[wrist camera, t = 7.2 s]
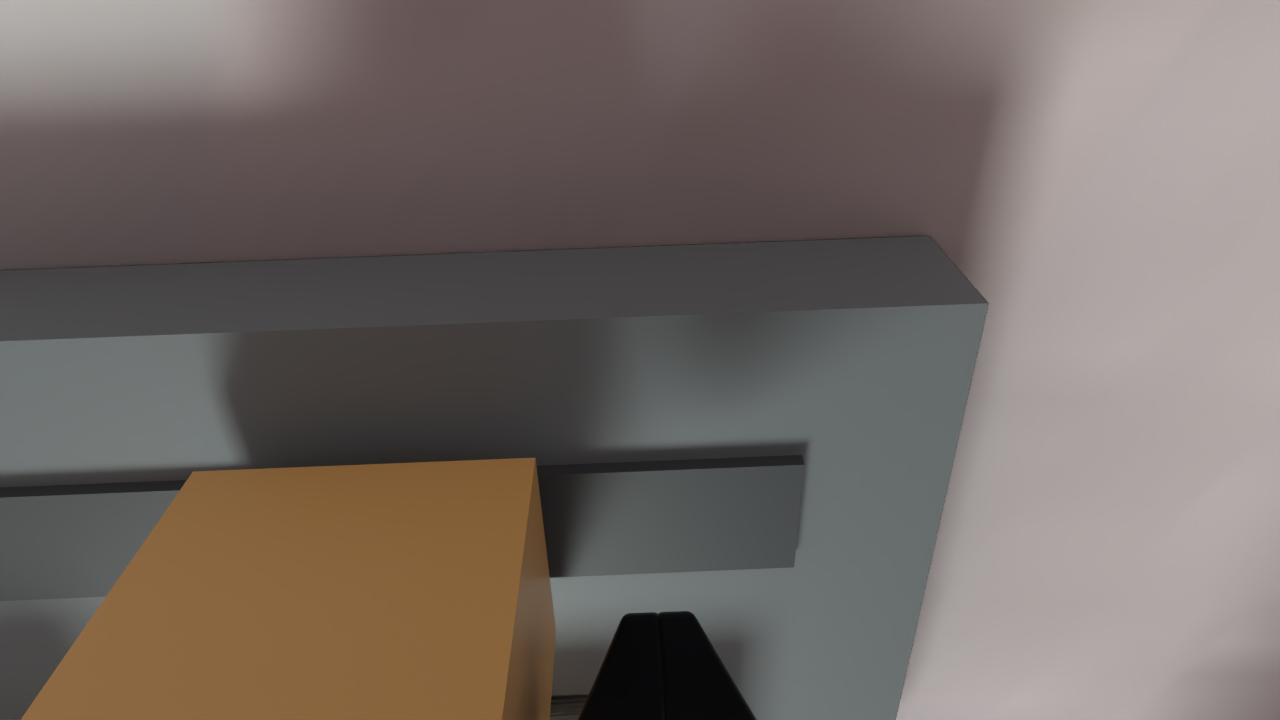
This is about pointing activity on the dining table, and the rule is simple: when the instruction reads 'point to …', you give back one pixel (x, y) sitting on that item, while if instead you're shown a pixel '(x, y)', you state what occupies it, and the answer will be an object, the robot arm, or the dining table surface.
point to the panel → (524, 431)
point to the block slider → (327, 601)
